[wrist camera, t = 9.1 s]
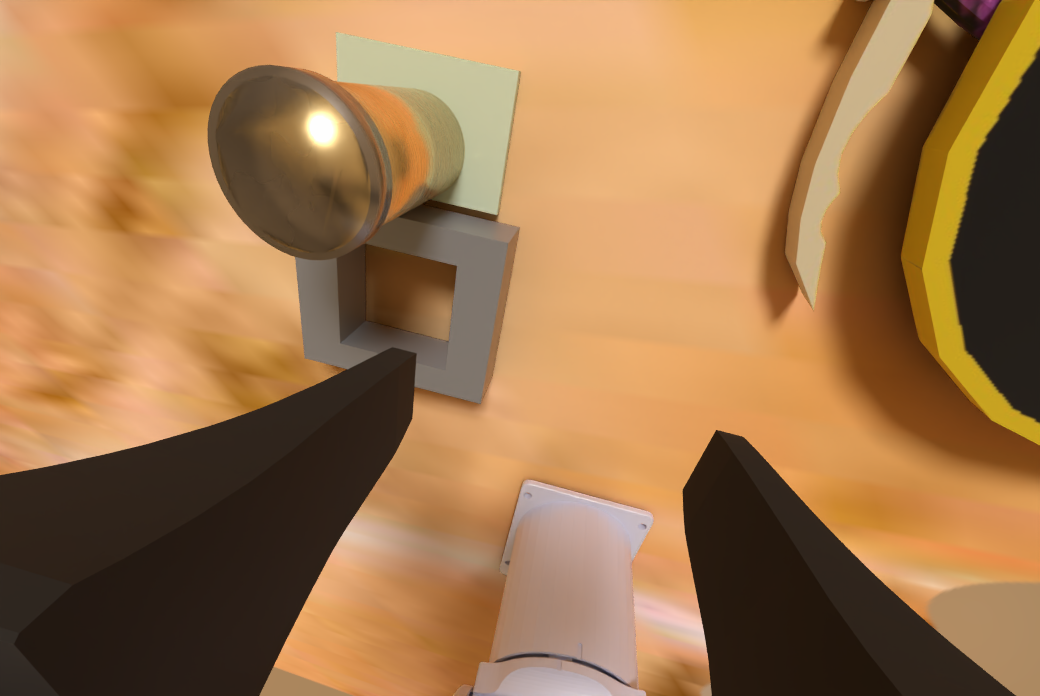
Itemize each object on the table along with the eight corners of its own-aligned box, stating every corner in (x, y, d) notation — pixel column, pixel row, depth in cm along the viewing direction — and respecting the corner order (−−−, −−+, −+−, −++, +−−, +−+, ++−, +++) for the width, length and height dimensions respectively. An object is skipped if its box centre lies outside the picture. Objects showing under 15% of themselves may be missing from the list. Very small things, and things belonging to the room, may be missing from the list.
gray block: (492, 375, 23) (480, 404, 21) (332, 334, 23) (304, 358, 21) (519, 227, 19) (508, 243, 16) (324, 181, 19) (289, 191, 17)
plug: (463, 212, 18) (378, 276, 11) (366, 190, 19) (225, 240, 12) (476, 94, 16) (378, 86, 9) (364, 71, 16) (189, 46, 9)
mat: (498, 212, 18) (496, 215, 18) (345, 177, 19) (340, 178, 18) (520, 71, 16) (519, 70, 15) (341, 33, 16) (335, 31, 16)
